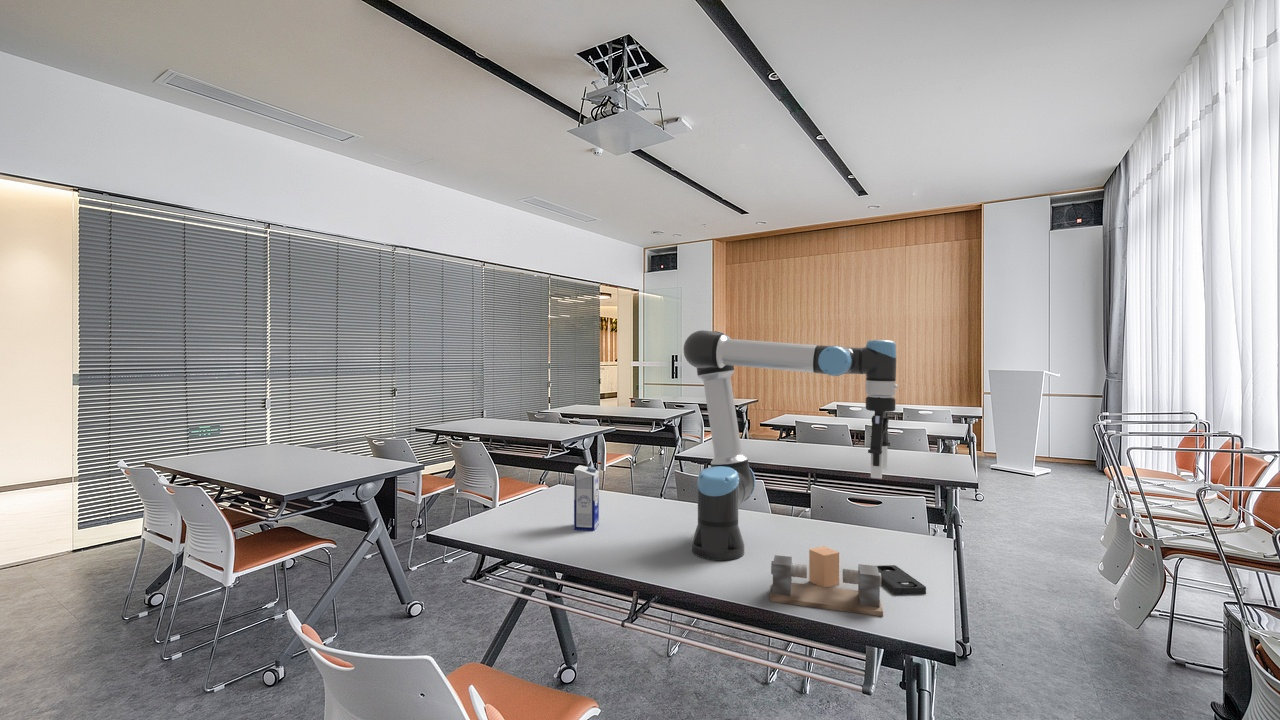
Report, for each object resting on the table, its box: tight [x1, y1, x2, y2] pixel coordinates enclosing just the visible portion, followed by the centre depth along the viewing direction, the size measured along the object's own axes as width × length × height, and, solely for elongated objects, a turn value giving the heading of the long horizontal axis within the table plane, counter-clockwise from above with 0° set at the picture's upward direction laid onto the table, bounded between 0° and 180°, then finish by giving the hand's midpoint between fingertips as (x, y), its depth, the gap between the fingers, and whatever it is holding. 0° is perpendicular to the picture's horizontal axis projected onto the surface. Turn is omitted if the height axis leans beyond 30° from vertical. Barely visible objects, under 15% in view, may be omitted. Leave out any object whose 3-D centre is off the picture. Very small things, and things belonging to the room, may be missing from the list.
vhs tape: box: [876, 564, 927, 596], centre depth 139 cm, size 14×8×2 cm, turn 4°
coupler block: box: [808, 545, 840, 588], centre depth 138 cm, size 5×5×8 cm
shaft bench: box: [769, 554, 884, 617], centre depth 129 cm, size 24×10×8 cm, turn 72°
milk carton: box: [573, 464, 600, 532], centre depth 183 cm, size 7×7×20 cm
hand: (879, 473), depth 153 cm, fingers open, 13 cm apart
